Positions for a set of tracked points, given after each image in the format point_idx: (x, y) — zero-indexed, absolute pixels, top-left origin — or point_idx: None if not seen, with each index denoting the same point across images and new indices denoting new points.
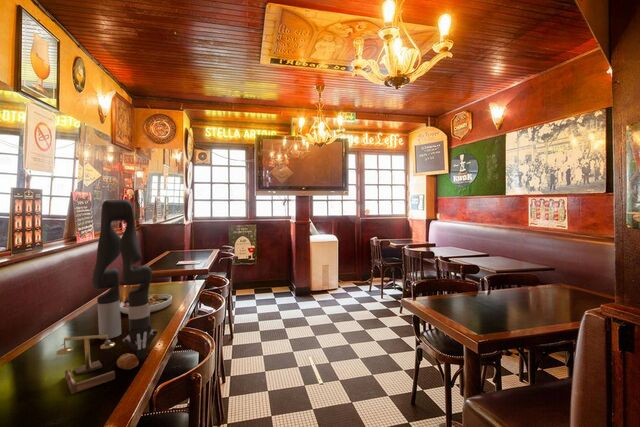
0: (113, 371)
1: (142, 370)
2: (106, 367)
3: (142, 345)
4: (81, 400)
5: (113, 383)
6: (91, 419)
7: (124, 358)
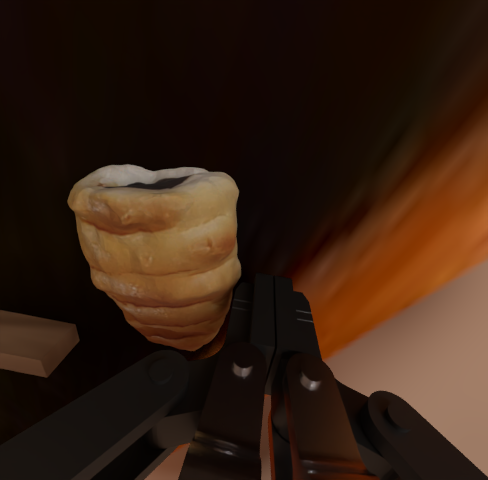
0: (38, 368)
1: None
2: (19, 125)
3: (271, 446)
4: None
5: (71, 367)
6: None
7: (110, 288)
